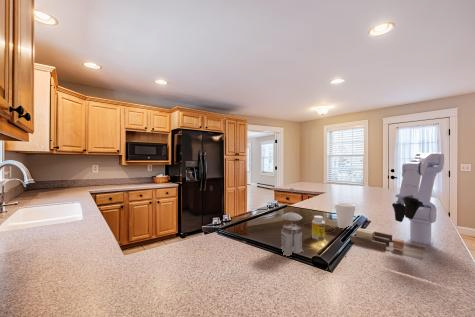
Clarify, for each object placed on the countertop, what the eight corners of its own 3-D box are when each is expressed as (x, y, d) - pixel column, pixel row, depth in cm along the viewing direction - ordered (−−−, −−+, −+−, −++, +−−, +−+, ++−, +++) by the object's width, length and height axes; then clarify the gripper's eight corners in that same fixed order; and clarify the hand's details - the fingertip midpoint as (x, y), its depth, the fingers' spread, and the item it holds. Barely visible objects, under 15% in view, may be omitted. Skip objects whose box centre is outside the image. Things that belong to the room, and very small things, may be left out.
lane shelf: (359, 234, 104) (359, 228, 104) (425, 249, 88) (425, 241, 88) (350, 243, 93) (350, 235, 93) (422, 261, 77) (422, 252, 77)
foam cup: (331, 227, 115) (331, 203, 115) (343, 225, 119) (343, 202, 119) (346, 233, 106) (346, 206, 106) (359, 230, 110) (359, 205, 110)
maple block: (359, 239, 96) (359, 228, 96) (403, 249, 85) (403, 237, 85) (356, 241, 93) (356, 230, 93) (402, 253, 82) (402, 240, 82)
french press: (301, 247, 88) (302, 186, 88) (308, 260, 77) (308, 190, 77) (277, 246, 89) (278, 186, 89) (280, 259, 78) (281, 190, 78)
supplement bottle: (319, 242, 94) (319, 218, 94) (309, 238, 99) (309, 216, 99) (327, 239, 97) (327, 217, 97) (316, 235, 102) (316, 214, 102)
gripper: (390, 189, 95) (383, 218, 91) (407, 179, 82) (401, 212, 78) (408, 195, 93) (402, 225, 89) (429, 185, 80) (423, 220, 76)
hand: (403, 219), depth 83 cm, fingers open, 7 cm apart
